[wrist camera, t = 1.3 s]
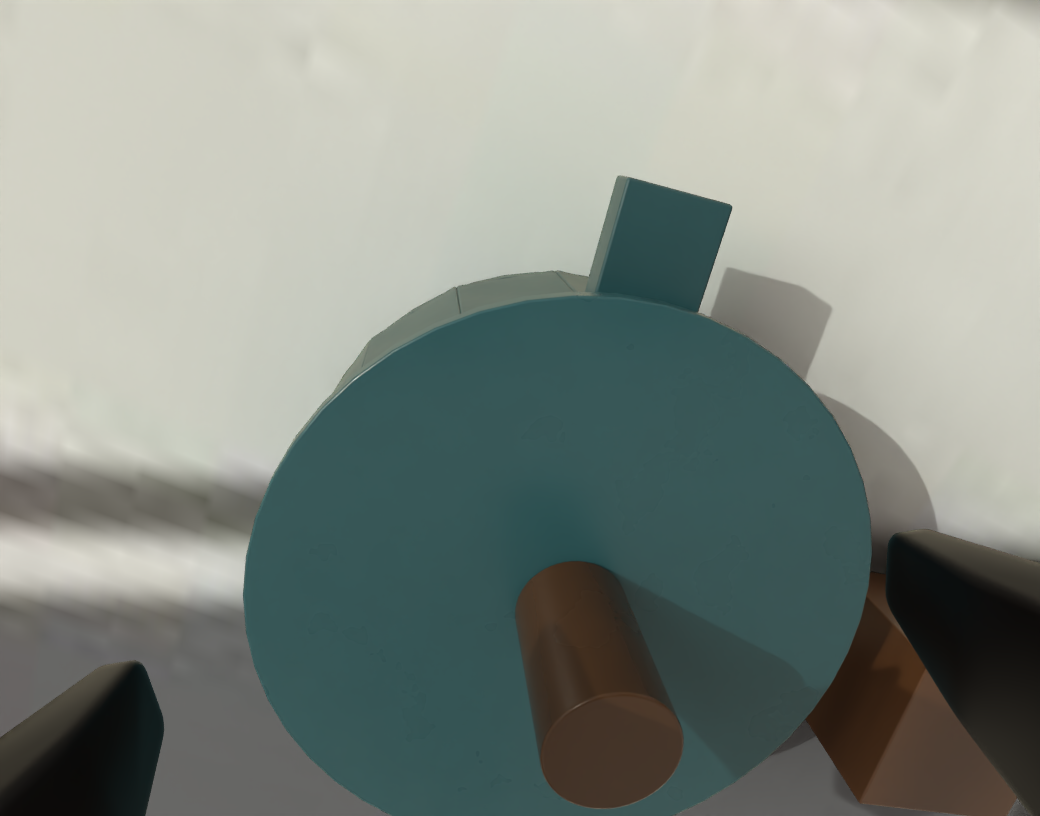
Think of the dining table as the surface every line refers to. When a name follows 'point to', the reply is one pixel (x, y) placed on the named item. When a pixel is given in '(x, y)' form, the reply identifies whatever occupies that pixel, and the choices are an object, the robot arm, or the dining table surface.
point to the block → (901, 727)
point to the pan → (602, 262)
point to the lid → (557, 563)
